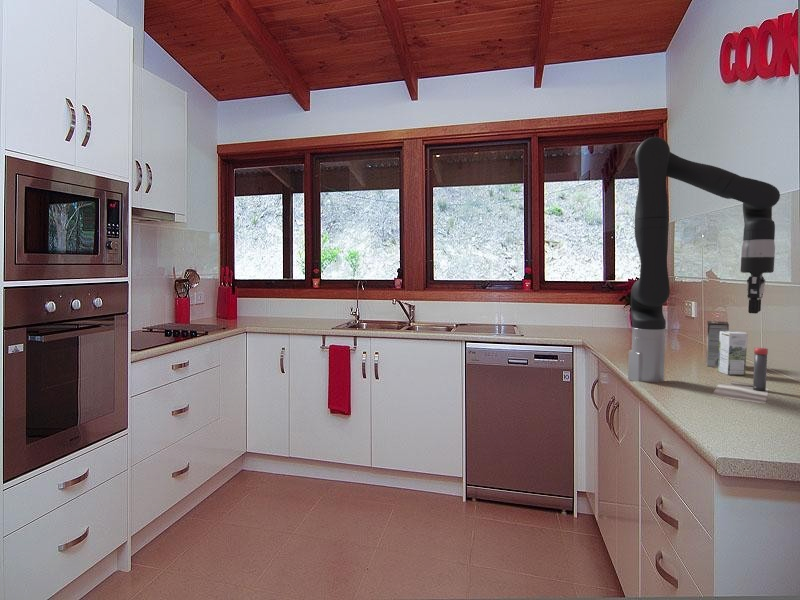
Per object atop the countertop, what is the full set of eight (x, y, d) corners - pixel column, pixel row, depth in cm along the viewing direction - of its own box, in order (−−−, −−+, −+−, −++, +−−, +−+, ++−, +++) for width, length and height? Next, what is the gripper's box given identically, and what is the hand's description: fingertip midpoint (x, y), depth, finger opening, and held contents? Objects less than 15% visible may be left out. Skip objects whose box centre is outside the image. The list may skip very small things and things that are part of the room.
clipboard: (771, 409, 114) (771, 403, 114) (705, 399, 123) (705, 394, 123) (774, 391, 131) (774, 386, 131) (715, 384, 140) (715, 379, 140)
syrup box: (734, 371, 157) (736, 330, 156) (746, 375, 151) (747, 332, 150) (717, 371, 158) (718, 330, 157) (727, 375, 152) (729, 332, 151)
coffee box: (705, 362, 174) (706, 320, 173) (725, 363, 171) (727, 321, 170) (706, 366, 166) (708, 323, 165) (728, 368, 163) (729, 324, 162)
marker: (759, 391, 127) (760, 349, 127) (749, 388, 130) (751, 347, 130) (768, 391, 128) (770, 349, 127) (759, 388, 131) (761, 347, 130)
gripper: (773, 255, 122) (769, 315, 123) (775, 256, 132) (772, 311, 133) (738, 255, 127) (735, 313, 128) (743, 257, 137) (740, 310, 138)
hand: (754, 312), depth 130 cm, fingers open, 8 cm apart
